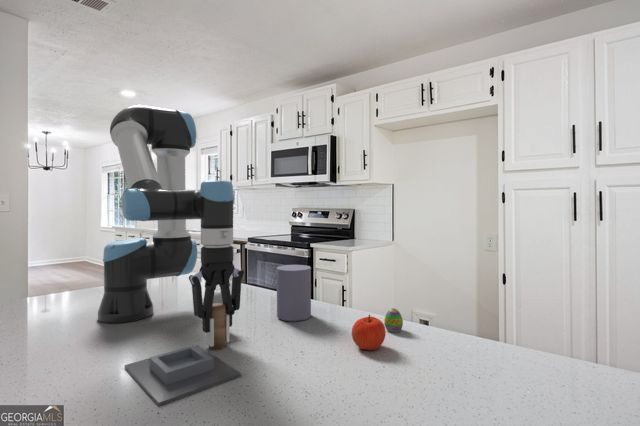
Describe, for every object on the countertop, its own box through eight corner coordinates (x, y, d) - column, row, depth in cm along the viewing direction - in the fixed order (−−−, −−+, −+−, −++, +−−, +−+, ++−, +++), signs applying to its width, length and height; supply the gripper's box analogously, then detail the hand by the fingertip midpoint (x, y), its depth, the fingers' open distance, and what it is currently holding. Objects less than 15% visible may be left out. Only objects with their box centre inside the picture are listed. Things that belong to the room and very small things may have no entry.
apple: (388, 343, 91) (388, 311, 91) (382, 356, 84) (382, 321, 83) (356, 339, 94) (356, 308, 94) (348, 351, 86) (348, 317, 86)
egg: (406, 330, 101) (406, 308, 100) (396, 335, 97) (396, 312, 97) (390, 326, 104) (390, 305, 104) (380, 330, 100) (380, 308, 100)
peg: (205, 346, 89) (205, 305, 89) (220, 342, 92) (220, 302, 92) (213, 351, 86) (213, 308, 86) (228, 346, 89) (228, 305, 89)
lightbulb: (226, 335, 97) (226, 293, 97) (205, 333, 98) (205, 292, 98) (236, 327, 103) (236, 288, 103) (216, 325, 104) (216, 287, 104)
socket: (124, 367, 78) (124, 354, 78) (197, 347, 89) (197, 335, 89) (158, 406, 63) (158, 389, 63) (241, 376, 74) (241, 361, 74)
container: (270, 319, 110) (270, 269, 110) (286, 310, 120) (286, 263, 119) (302, 323, 106) (302, 271, 106) (316, 313, 116) (316, 265, 115)
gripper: (190, 250, 80) (191, 357, 81) (255, 244, 91) (255, 338, 92) (176, 246, 86) (177, 347, 87) (239, 241, 97) (239, 330, 98)
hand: (217, 342), depth 89 cm, fingers closed on peg, 3 cm apart
